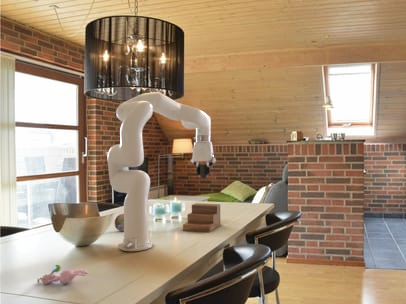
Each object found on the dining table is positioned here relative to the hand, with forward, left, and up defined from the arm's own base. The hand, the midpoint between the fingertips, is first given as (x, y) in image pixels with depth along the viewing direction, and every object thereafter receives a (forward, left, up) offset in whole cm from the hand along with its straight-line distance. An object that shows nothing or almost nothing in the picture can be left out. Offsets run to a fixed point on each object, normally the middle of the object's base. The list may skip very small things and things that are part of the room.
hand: (203, 174), depth 179 cm
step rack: (-3, 0, -27) cm, 27 cm away
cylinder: (0, 0, -2) cm, 2 cm away
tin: (-15, +35, -27) cm, 47 cm away
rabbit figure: (-82, +13, -27) cm, 87 cm away
